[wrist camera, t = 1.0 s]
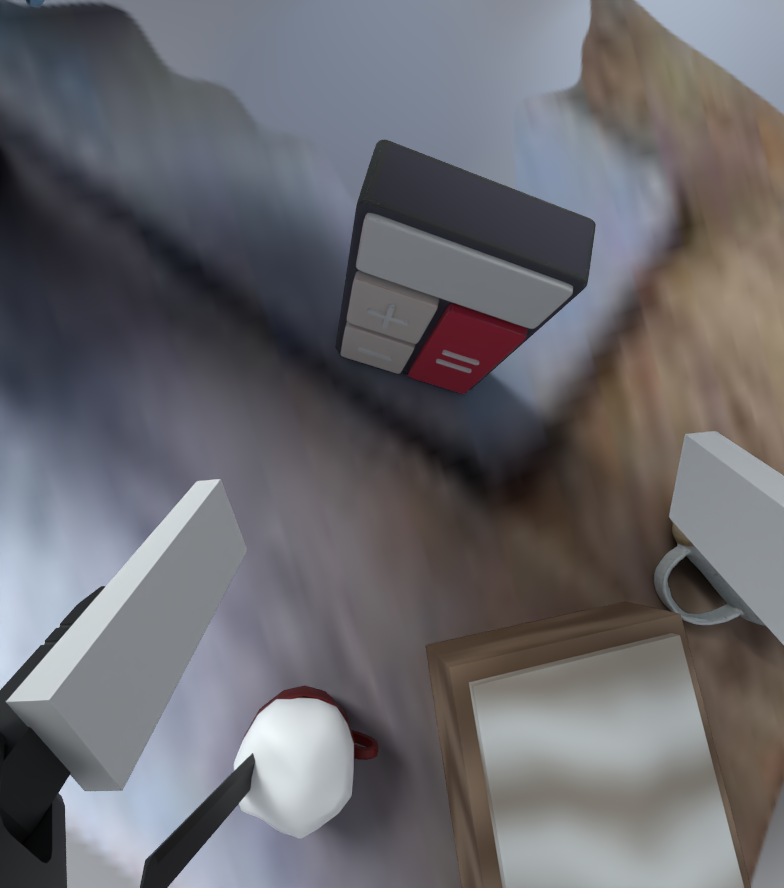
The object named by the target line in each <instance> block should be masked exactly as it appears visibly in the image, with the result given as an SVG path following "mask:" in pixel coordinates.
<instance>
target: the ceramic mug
mask: <svg viewBox="0 0 784 888" xmlns="http://www.w3.org/2000/svg"><path fill="white" fill-rule="evenodd" d="M672 533H673V536H674V538H675V539H676V541H677V547H675V548H674V549H672V550H671V551H669V552H668V553H667V554H665V556H664V557H663V559H662V560H661V561H660V562H659V565H658V566H657V568H656V570H655V574H654V584H655V589H656V592H657V594H658V596H659V598H660V599H661V601H662V602H663V604H664V605H665V606H666V607H667V608H668V609H670V610H671V611H672V612H675V613H680V614H681V617H682V620H684V621H687V622H689V623H691V624H696V625H715V624H720V623H724V622H727V621H729V620H732V619H734V618H736V617H739V616H741V617H742V618H744V619H746V620H748V621H750V622H753V623H756V624H759V625H765V624H764V623H763V622H762V621H761V619H760V618H759V617H758V616H757V615H756V614H755V613H754V612H753V610H752V609H751V608H750V607H749V606H748V605H747V604H746V603H745V602H744V600H743V599H742V598H741V597H740V596H739V595H738V594H737V593H736V592H735V590H734V589H733V588H732V587H731V586H730V585H729V584H728V583H727V581H726V580H725V579H724V578H723V577H722V576H721V575H720V574H719V573H718V571H717V570H716V569H715V568H714V567H713V566H712V565H711V564H710V563H709V561H708V560H707V559H706V558H705V557H704V556H703V555H702V554H701V553H700V551H699V550H698V549H697V548H696V547H695V546H694V545H693V544H692V542H691V541H690V540H689V539H688V538H687V537H686V536H685V535H684V534H683V532H682V531H681V530H680V529H679V528H678V527H677V526H676V525H675V524H674V522H673V525H672ZM685 556H687V557H688V558H689V560H690V561H691V562H692V563H693V564H694V565H695V566H696V567H697V568H698V569H699V570H700V571H701V572H702V574H703V575H704V576H705V577H706V578H707V580H708V581H709V582H710V583H711V585H712V586H713V587H714V588H715V590H716V591H717V592H718V593H719V595H720V596H721V597H722V598H723V599H724V600H725V602H726V604H725V605H724V606H722V607H719V608H717V609H715V610H712V611H709V612H705V613H701V614H690V613H685V612H684V611H682V610H681V609H680V608H679V607H678V605H677V604H676V603H675V601H674V600H673V599H672V597H671V592H670V588H669V587H668V582H667V580H668V576H669V574H670V573H671V570H672V569H673V568H674V567H675V566H676V565H677V563H678V562H679V561H680V560H682V559H683V558H684V557H685ZM765 626H766V625H765Z"/></svg>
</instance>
